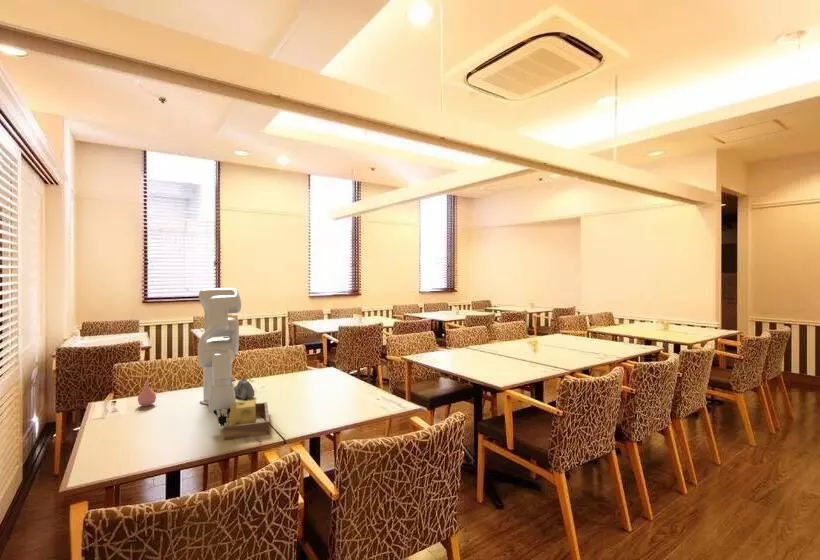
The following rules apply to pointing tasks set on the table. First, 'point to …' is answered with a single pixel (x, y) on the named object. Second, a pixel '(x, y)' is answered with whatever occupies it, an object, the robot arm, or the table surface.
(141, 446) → the table surface
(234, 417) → the cheese
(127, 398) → the table surface
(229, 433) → the wooden u-shaped bracket
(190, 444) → the table surface
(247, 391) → the mineral rock
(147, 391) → the pink rounded piece
